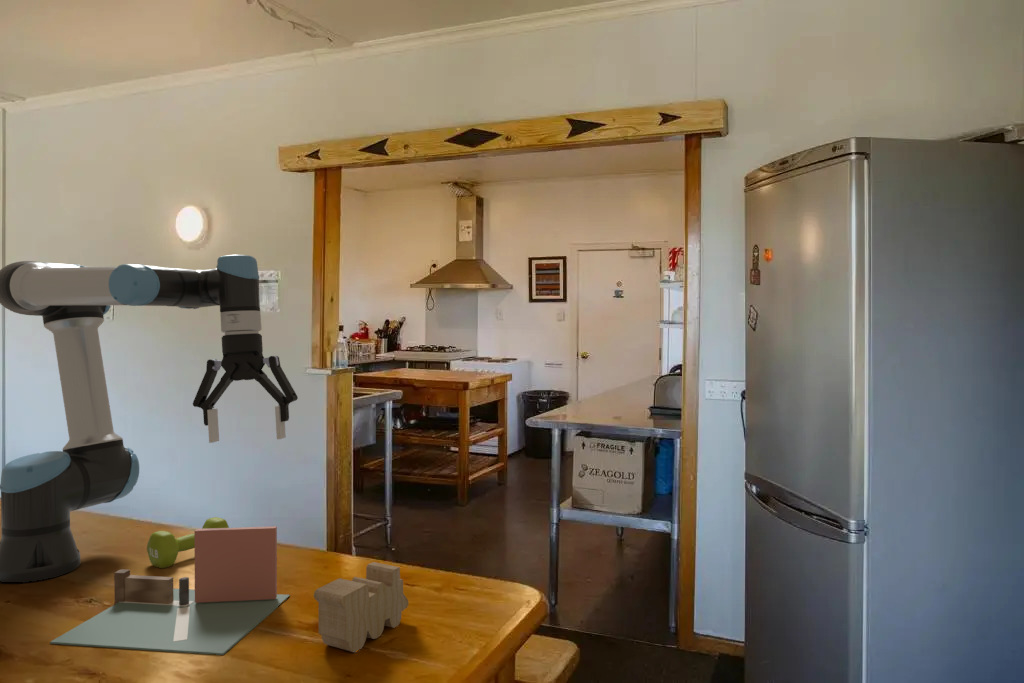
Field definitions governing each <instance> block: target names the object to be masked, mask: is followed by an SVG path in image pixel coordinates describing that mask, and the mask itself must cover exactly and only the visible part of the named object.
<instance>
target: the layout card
mask: <svg viewBox="0 0 1024 683" xmlns="http://www.w3.org/2000/svg"><path fill="white" fill-rule="evenodd" d="M173 596H174V601H173V602H171V603H170V604H157V603H140V602H118V603H114V604H113V605H112V606H109V607H107V609H104V610H103V611H101V612H98V614H96V615H94V616H93V617H91V618H89V619H88V620H85V621H83V622H81V623H80V624H77V626H75V627H73V628H71V629H70V630H69V631H66V632H64V633H63V634H62V635H60V636H58V637H56V638H55V639H52V640H51V641H50V643H49V644H50V645H63V646H78V647H79V646H80V647H92V648H93V647H96V648H111V649H121V650H122V649H123V650H124V649H125V650H127V649H128V650H137V651H138V650H140V651H141V650H142V651H153V652H155V651H157V652H168V653H169V652H170V653H184V654H197V653H198V654H199V655H212V654H216V656H224V655H225V654H227V652H229V651H230V650H231V649H232V648H233V647H234V646H235V645H236V644H238V643H239V642H240V641H241V640H242V639H243V638H244V637H246V636H247V635H248V634H249V633H250V632H251V631H252V630H253V629H255V628H256V627H257V626H258V625H259V624H260V623H262V621H264V620H265V619H266V618H268V617H269V616H270V615H271V614H272V613H273V612H274V611H275V610H276V609H278V608H279V607H280V606H281V605H282V604H283V603H284V602H285V601H287V600H288V599H289V598H290V597H291V595H290V594H281V593H280V594H279V593H277V597H276V599H264V600H243V601H221V602H200V603H195V589H192V588H191V589H190V588H189V604H186V605H179V588H174V587H173ZM289 596H290V597H289ZM288 597H289V598H288ZM287 598H288V599H287ZM284 600H285V601H284ZM283 601H284V602H283ZM282 602H283V603H282ZM281 603H282V604H281ZM280 604H281V605H280ZM279 605H280V606H279ZM278 606H279V607H278ZM198 654H197V655H198Z"/></svg>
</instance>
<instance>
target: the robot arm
mask: <svg viewBox="0 0 1024 683" xmlns="http://www.w3.org/2000/svg"><path fill="white" fill-rule="evenodd" d="M216 260H217V261H216V263H217V264H216V268H210V269H209V268H208V269H189V268H177V267H166V266H156V265H145V264H140V263H123V264H119V265H117V266H116V265H113V266H112V265H110V266H85V265H82V264H81V265H80V264H76V263H73V264H69V263H56V262H55V263H54V262H43V261H42V262H41V261H34V260H23V261H16V262H11V263H9V264H7V265H5V266H4V267H1V269H0V305H1V306H2V307H4V308H5V309H6V310H9V311H10V312H12V313H15V314H19V315H22V316H23V315H24V316H36V317H37V316H38V317H39V316H42V322H43V328H45V329H46V330H48V331H49V332H51V333H52V334H53V339H54V340H53V342H54V347H55V352H56V361H57V366H58V374H59V379H60V385H61V392H62V393H61V394H62V399H63V405H64V412H65V413H64V414H65V420H66V427H67V432H68V441H67V443H66V444H65V445H64V446H63V447H62V451H60V450H59V451H58V450H54V451H51V450H50V451H44V452H42V453H41V452H37V453H32V454H31V453H30V454H27V455H24V456H21V457H18V458H14V459H13V460H11V461H9V462H7V463H5V465H4V466H3V468H2V469H1V477H0V505H1V506H0V510H1V512H0V513H1V516H0V518H1V520H0V522H1V538H0V581H1V582H23V583H30V582H29V581H32V582H38V581H37V580H39V581H43V579H44V580H47V579H48V578H49V579H51V578H56V577H60V576H63V575H65V574H68V573H70V572H72V571H74V570H76V569H77V568H79V567H80V565H81V552H80V549H79V548H78V547H77V544H76V540H75V537H74V534H73V532H72V529H71V512H73V511H78V510H80V509H85V508H89V507H94V506H97V505H101V504H107V503H111V502H114V501H116V500H119V499H122V498H124V497H126V496H128V495H129V494H130V493H131V492H132V491H133V490H134V487H135V486H136V484H137V482H138V479H139V478H140V477H139V476H140V463H139V458H138V455H137V454H136V453H134V450H133V449H132V448H131V447H127V446H125V445H124V439H123V437H122V436H120V435H119V434H117V433H116V432H115V431H114V426H113V418H112V413H111V412H112V411H111V406H110V400H109V393H108V387H107V386H108V385H107V380H106V373H105V368H104V360H103V355H102V347H101V341H100V335H99V328H100V327H101V325H102V324H103V323H104V322H105V318H104V315H106V314H107V313H108V312H109V310H110V309H111V307H112V306H130V307H132V306H133V307H136V306H137V307H140V306H141V307H142V306H146V307H147V306H149V307H151V306H152V307H177V308H180V309H187V310H188V309H189V310H191V309H193V310H196V309H200V308H207V307H215V306H219V312H220V313H219V315H220V331H221V333H224V335H222V336H221V349H222V350H221V351H222V360H221V359H220V360H218V359H217V358H216V359H215V358H213V359H207V361H206V370H205V372H204V376H203V378H202V380H201V383H200V385H199V387H198V388H197V392H196V394H195V396H194V399H193V402H192V406H193V407H194V408H200V409H202V412H203V413H202V414H203V425H204V426H206V427H208V429H207V430H208V443H209V444H213V443H216V442H220V431H219V416H218V408H216V407H215V405H216V404H217V402H218V401H219V400H220V398H221V397H223V396H222V395H223V394H224V393H225V391H226V390H227V389H228V387H229V386H230V385H231V384H232V383H234V382H237V381H243V380H244V381H252V380H254V381H256V382H257V383H258V384H260V385H261V387H263V389H264V390H265V391H266V392H267V393H268V394H269V395H270V396H271V397H272V399H273V400H274V401H275V402H277V404H278V405H275V406H274V413H275V414H274V415H275V430H276V440H282V439H285V438H286V436H287V435H286V422H287V421H289V420H290V409H289V405H290V404H291V403H293V402H295V401H297V400H298V395H297V392H296V391H295V390H294V387H293V386H292V385H291V382H290V381H289V379H288V377H287V375H286V374H285V372H284V370H283V368H282V366H281V362H280V361H281V360H280V357H279V355H271V356H269V357H264V354H263V350H264V349H263V347H264V346H263V336H262V335H261V333H259V332H260V331H262V317H261V303H260V276H259V275H260V274H259V268H258V262H257V259H256V258H255V257H254V256H252V255H247V254H227V255H222V256H219V257H218V258H217V259H216ZM265 364H266V366H267V368H270V370H271V373H272V375H273V377H274V378H275V380H276V382H277V384H278V386H279V387H280V388H278V387H277V385H276V384H274V382H273V381H272V380H271V379H270V378H269V377H268V375H267V374H266V373H265V371H263V368H264V366H265ZM221 368H222V369H223V370H224V371H225V372H224V374H223V375H222V376H221V378H220V380H219V382H217V384H216V385H215V387H214V389H213V390H212V391H211V388H212V387H213V384H214V382H215V379H216V376H217V374H218V371H220V370H221ZM280 389H281V390H280ZM210 391H211V393H210ZM1 582H0V583H1Z"/></svg>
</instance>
